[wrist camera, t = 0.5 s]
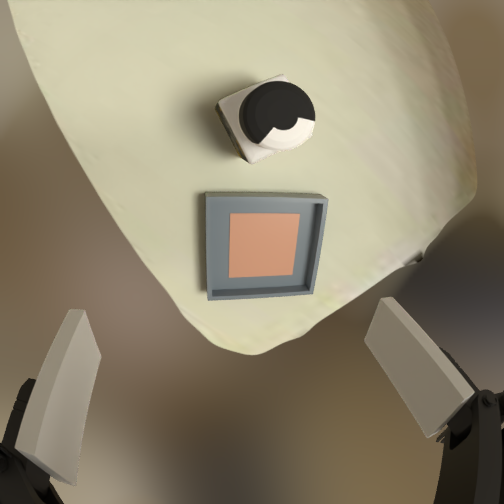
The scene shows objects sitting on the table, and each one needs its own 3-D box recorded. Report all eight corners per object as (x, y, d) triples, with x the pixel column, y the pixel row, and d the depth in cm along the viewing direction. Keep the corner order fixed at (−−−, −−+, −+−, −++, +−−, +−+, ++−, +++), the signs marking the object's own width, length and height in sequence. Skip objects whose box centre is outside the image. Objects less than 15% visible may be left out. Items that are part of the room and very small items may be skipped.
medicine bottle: (213, 107, 28) (220, 93, 18) (267, 83, 28) (303, 61, 17) (240, 158, 32) (261, 173, 21) (292, 134, 31) (337, 138, 21)
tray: (205, 192, 33) (205, 196, 30) (320, 194, 35) (328, 199, 33) (206, 290, 38) (207, 300, 36) (307, 285, 41) (312, 293, 39)
